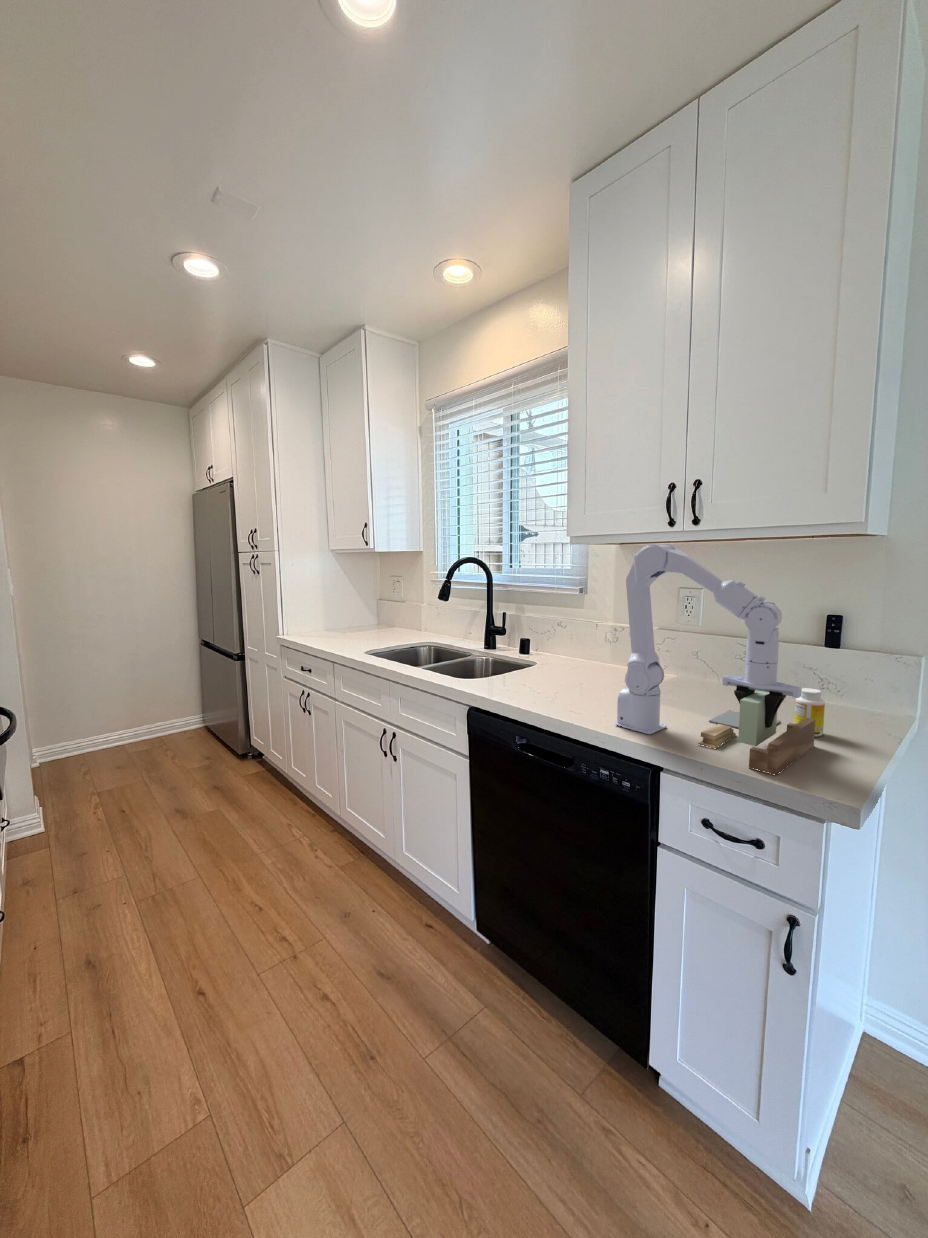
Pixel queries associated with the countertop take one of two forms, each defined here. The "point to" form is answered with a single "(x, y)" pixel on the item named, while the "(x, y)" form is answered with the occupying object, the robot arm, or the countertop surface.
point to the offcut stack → (716, 735)
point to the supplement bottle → (810, 708)
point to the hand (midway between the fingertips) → (758, 724)
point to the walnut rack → (784, 748)
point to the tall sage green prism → (754, 720)
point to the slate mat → (729, 719)
